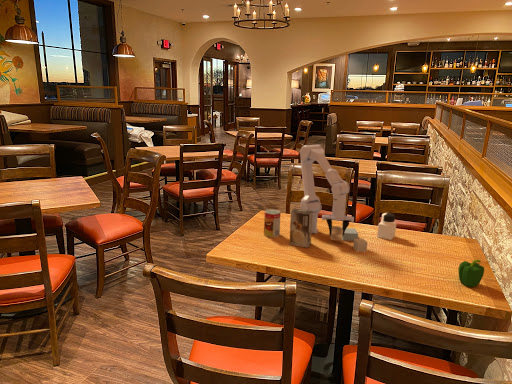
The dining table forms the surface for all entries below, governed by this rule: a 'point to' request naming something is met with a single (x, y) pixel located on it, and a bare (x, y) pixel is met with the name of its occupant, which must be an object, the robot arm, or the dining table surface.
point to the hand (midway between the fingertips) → (336, 234)
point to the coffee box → (300, 227)
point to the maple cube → (336, 233)
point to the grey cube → (360, 245)
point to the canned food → (272, 223)
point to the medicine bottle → (387, 226)
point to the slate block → (350, 234)
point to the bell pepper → (470, 273)
